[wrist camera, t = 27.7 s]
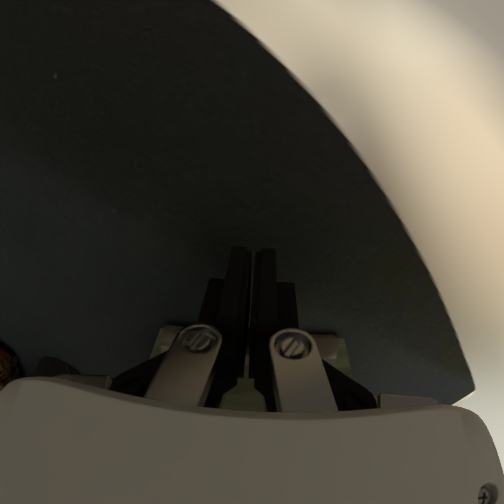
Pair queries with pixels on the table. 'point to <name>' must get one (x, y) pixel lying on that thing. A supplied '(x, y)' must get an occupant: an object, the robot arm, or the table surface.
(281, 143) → the table surface
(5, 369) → the toy car
